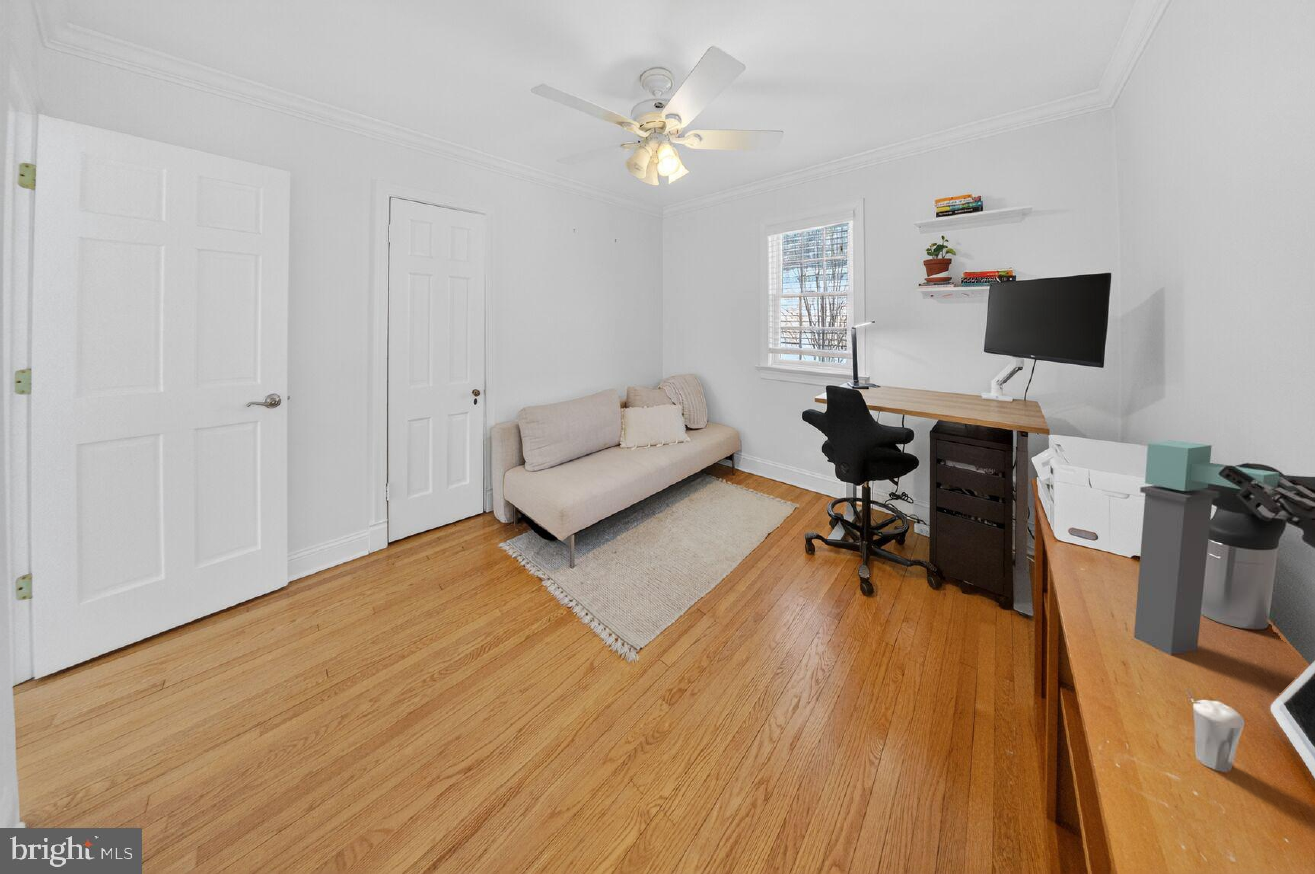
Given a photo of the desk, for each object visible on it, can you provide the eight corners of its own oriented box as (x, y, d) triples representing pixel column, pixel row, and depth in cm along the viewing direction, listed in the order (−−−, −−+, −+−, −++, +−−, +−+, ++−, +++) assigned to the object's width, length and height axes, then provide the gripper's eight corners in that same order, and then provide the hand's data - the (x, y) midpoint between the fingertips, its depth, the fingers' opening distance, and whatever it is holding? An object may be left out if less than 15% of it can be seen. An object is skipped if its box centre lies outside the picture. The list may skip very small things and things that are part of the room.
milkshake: (1185, 740, 68) (1191, 682, 67) (1242, 766, 64) (1249, 704, 62) (1175, 754, 66) (1181, 694, 65) (1233, 782, 62) (1240, 718, 60)
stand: (1129, 636, 92) (1140, 487, 87) (1158, 630, 93) (1171, 482, 88) (1171, 657, 85) (1186, 497, 80) (1202, 651, 86) (1219, 492, 81)
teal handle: (1145, 483, 87) (1147, 443, 86) (1166, 480, 88) (1170, 440, 87) (1255, 505, 73) (1260, 457, 71) (1280, 501, 73) (1286, 454, 72)
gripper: (1308, 571, 65) (1181, 488, 78) (1386, 558, 66) (1248, 478, 80) (1358, 538, 60) (1214, 456, 74) (1440, 524, 62) (1284, 446, 75)
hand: (1232, 468), depth 77 cm, fingers closed on teal handle, 3 cm apart
